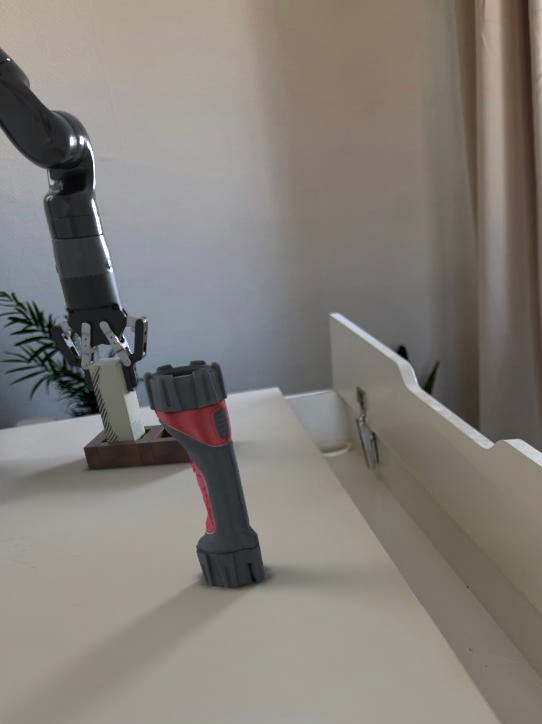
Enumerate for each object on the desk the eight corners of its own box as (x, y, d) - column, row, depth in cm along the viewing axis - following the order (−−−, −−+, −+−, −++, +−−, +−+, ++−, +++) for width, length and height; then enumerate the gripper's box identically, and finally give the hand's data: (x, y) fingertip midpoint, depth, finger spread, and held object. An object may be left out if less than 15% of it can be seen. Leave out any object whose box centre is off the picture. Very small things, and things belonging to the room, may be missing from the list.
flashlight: (186, 575, 108) (139, 365, 98) (256, 561, 110) (217, 354, 100) (194, 601, 102) (144, 380, 91) (269, 586, 104) (228, 368, 93)
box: (120, 441, 152) (100, 357, 146) (148, 440, 151) (128, 355, 145) (108, 451, 147) (86, 365, 141) (136, 450, 147) (115, 363, 141)
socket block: (89, 473, 146) (83, 447, 144) (109, 454, 155) (103, 429, 153) (210, 464, 146) (204, 437, 144) (222, 445, 155) (218, 420, 153)
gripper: (143, 263, 141) (169, 382, 149) (44, 271, 141) (75, 390, 149) (129, 270, 134) (157, 394, 142) (25, 278, 134) (59, 402, 142)
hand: (115, 391), depth 145 cm, fingers closed on box, 4 cm apart
